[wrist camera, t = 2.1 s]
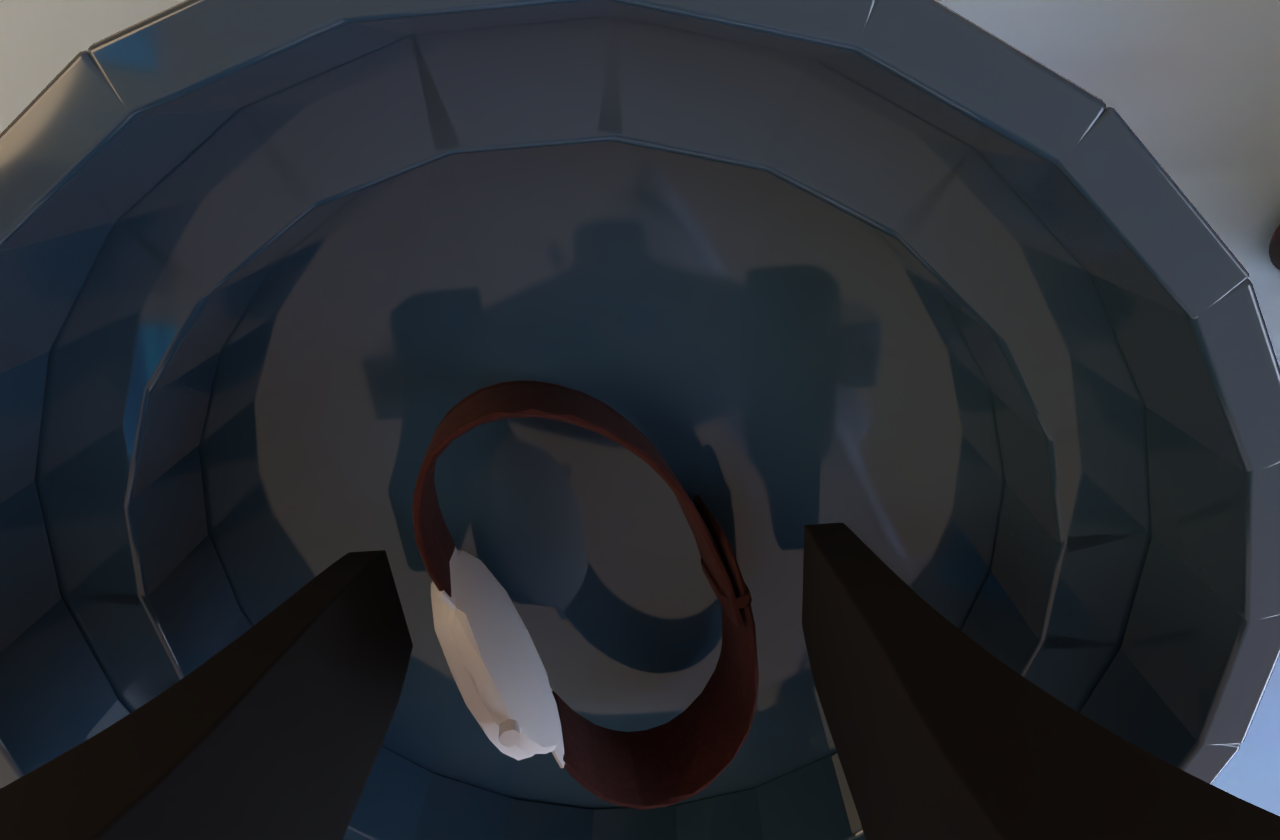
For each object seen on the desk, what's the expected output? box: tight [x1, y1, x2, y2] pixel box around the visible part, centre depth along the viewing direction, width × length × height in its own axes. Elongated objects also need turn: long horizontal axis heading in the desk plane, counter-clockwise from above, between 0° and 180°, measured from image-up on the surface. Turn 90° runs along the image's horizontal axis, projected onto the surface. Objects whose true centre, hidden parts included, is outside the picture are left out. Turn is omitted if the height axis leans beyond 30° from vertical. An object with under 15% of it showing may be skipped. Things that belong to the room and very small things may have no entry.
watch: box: [412, 380, 759, 810], centre depth 11 cm, size 8×5×4 cm, turn 24°
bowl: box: [0, 0, 1280, 840], centre depth 11 cm, size 17×17×4 cm
